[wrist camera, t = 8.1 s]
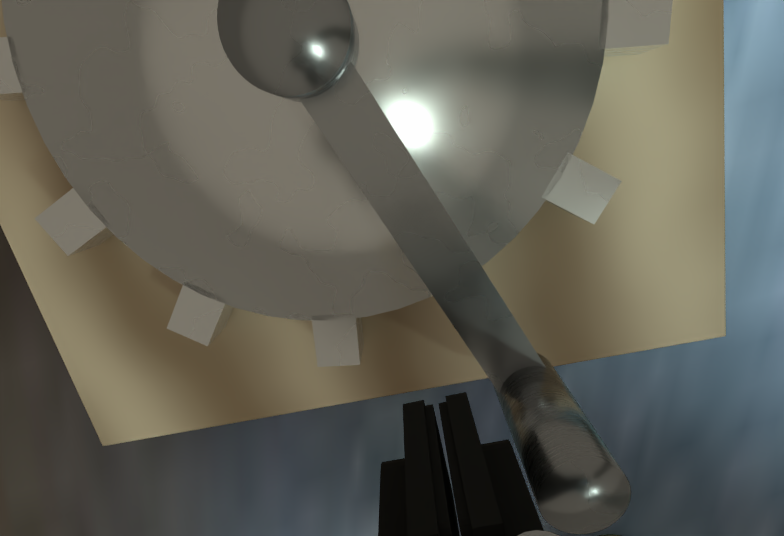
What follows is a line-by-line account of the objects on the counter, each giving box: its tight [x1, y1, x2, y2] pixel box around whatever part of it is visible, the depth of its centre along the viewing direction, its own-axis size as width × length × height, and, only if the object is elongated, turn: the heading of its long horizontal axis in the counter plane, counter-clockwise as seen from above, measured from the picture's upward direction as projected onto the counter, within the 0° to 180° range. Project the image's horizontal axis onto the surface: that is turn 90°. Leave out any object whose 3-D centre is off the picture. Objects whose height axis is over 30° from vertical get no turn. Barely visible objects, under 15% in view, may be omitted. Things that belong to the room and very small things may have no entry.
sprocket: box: [0, 0, 673, 534], centre depth 10 cm, size 19×21×6 cm
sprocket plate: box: [0, 0, 726, 446], centre depth 14 cm, size 24×24×2 cm
